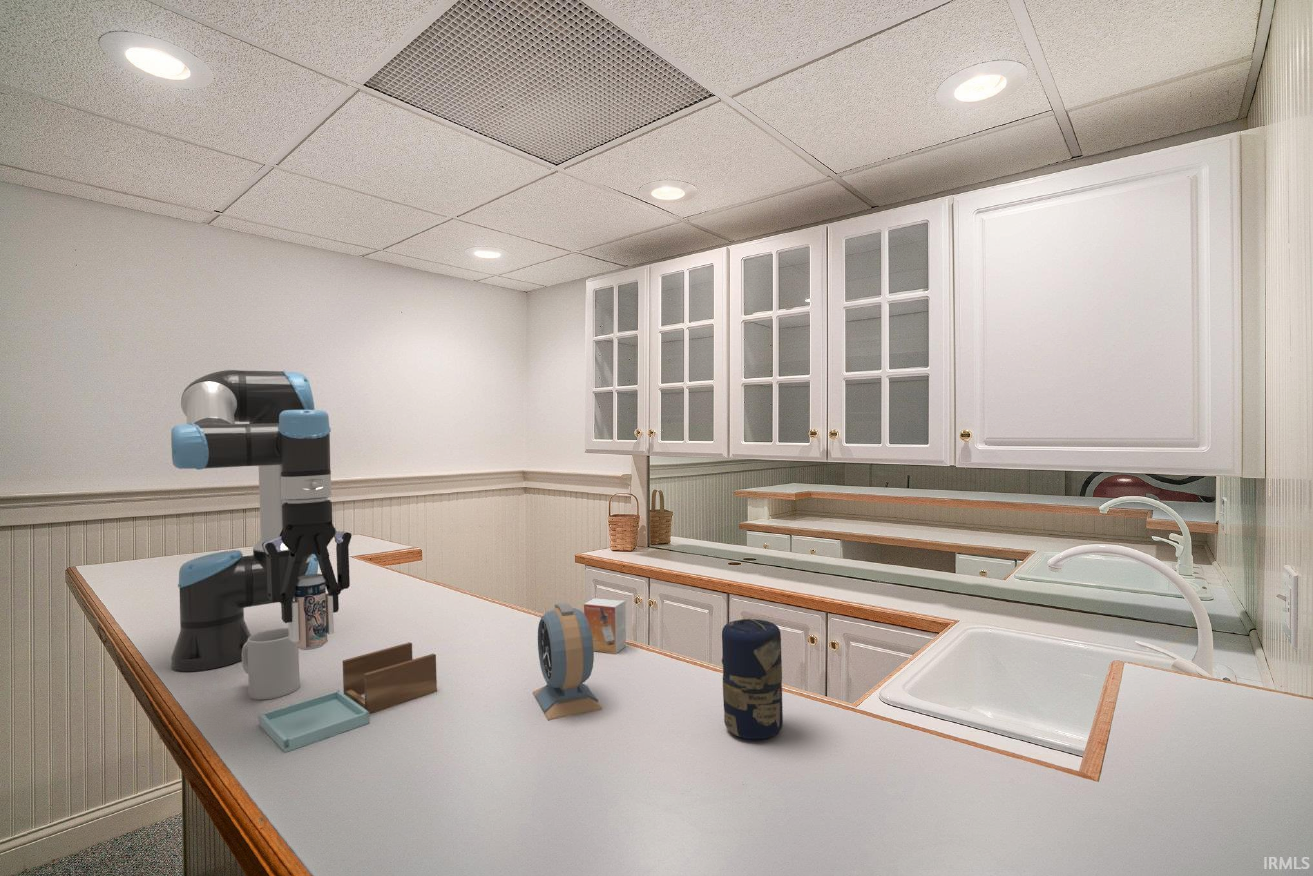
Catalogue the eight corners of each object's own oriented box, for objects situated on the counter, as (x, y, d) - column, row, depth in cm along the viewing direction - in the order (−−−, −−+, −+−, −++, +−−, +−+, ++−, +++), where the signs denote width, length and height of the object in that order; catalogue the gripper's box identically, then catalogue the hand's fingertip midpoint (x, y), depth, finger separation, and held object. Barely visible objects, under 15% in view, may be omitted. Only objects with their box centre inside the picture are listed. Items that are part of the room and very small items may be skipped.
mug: (310, 684, 125) (308, 629, 125) (272, 702, 117) (270, 643, 116) (263, 678, 128) (261, 625, 128) (224, 695, 120) (222, 639, 120)
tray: (259, 725, 107) (258, 714, 107) (339, 700, 117) (338, 690, 117) (284, 752, 98) (284, 741, 98) (369, 722, 107) (369, 712, 107)
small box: (583, 650, 140) (582, 603, 140) (595, 642, 145) (594, 597, 145) (616, 654, 137) (614, 606, 137) (626, 646, 142) (625, 600, 142)
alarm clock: (531, 691, 119) (528, 598, 118) (581, 682, 123) (578, 592, 122) (549, 723, 106) (546, 618, 105) (604, 711, 109) (601, 611, 109)
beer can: (313, 652, 104) (311, 580, 104) (289, 650, 105) (286, 579, 105) (334, 642, 109) (331, 573, 109) (310, 641, 110) (308, 573, 110)
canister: (746, 750, 95) (743, 632, 95) (712, 725, 103) (710, 616, 103) (795, 734, 99) (793, 622, 99) (759, 711, 108) (757, 607, 108)
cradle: (343, 697, 118) (342, 660, 118) (410, 676, 127) (409, 642, 127) (367, 714, 110) (366, 675, 110) (436, 691, 120) (435, 654, 120)
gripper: (253, 507, 98) (258, 655, 98) (369, 496, 111) (373, 627, 111) (240, 504, 103) (245, 645, 103) (352, 494, 116) (356, 619, 116)
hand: (311, 636), depth 107 cm, fingers closed on beer can, 5 cm apart
